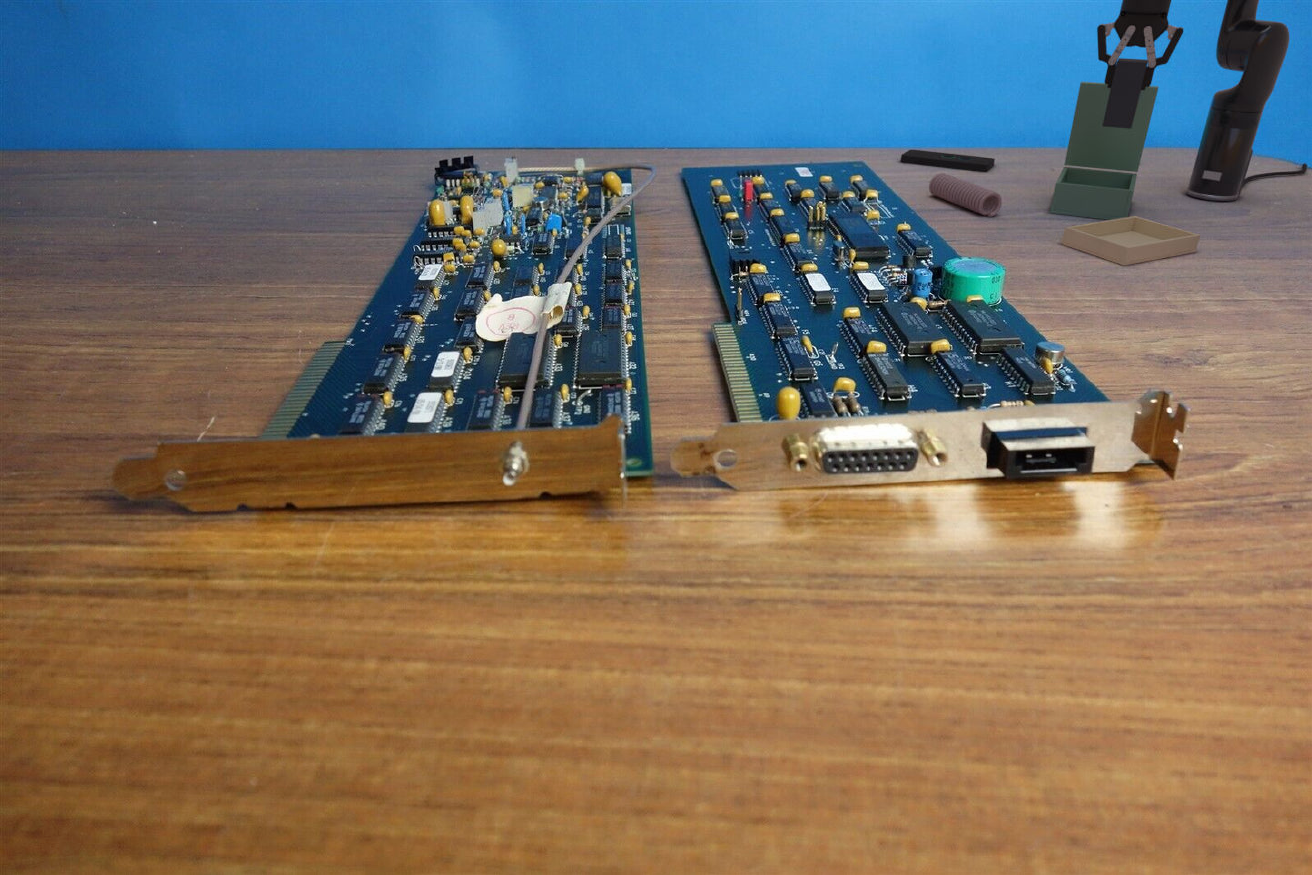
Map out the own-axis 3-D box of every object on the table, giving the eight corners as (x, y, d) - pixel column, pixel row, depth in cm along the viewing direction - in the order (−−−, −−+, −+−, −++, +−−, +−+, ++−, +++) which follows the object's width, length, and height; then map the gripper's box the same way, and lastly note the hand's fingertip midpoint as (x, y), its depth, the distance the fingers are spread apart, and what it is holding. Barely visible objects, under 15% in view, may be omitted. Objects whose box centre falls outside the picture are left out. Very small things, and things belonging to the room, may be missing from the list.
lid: (1158, 87, 175) (1160, 79, 178) (1080, 83, 180) (1083, 75, 183) (1137, 172, 184) (1139, 163, 188) (1064, 165, 190) (1067, 156, 193)
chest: (1126, 221, 175) (1133, 190, 173) (1049, 213, 181) (1055, 183, 178) (1129, 202, 188) (1137, 173, 185) (1058, 195, 193) (1064, 166, 190)
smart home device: (987, 164, 210) (900, 154, 219) (986, 172, 211) (899, 162, 220) (995, 157, 217) (910, 148, 225) (994, 165, 217) (910, 155, 226)
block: (1131, 129, 166) (1147, 62, 161) (1102, 126, 168) (1117, 61, 162) (1132, 124, 170) (1148, 59, 164) (1104, 122, 171) (1118, 58, 166)
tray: (1130, 232, 169) (1135, 215, 168) (1195, 252, 159) (1200, 234, 158) (1061, 244, 163) (1065, 227, 161) (1124, 265, 152) (1128, 247, 151)
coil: (1006, 193, 177) (949, 172, 191) (986, 192, 175) (930, 171, 190) (999, 217, 179) (943, 195, 194) (980, 217, 177) (925, 194, 192)
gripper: (1198, -18, 158) (1171, 89, 166) (1106, -20, 163) (1084, 83, 171) (1198, -16, 152) (1170, 94, 160) (1103, -19, 157) (1080, 88, 166)
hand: (1126, 88), depth 166 cm, fingers closed on block, 4 cm apart
